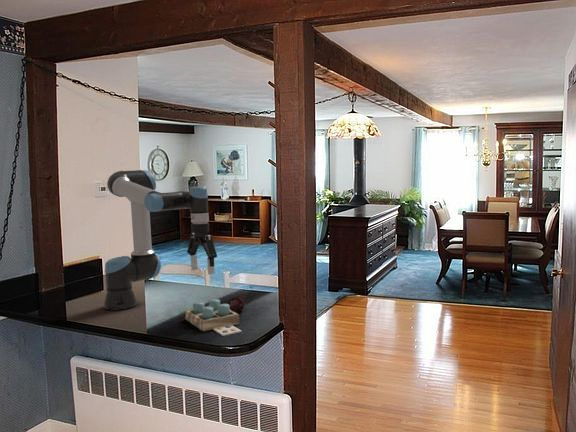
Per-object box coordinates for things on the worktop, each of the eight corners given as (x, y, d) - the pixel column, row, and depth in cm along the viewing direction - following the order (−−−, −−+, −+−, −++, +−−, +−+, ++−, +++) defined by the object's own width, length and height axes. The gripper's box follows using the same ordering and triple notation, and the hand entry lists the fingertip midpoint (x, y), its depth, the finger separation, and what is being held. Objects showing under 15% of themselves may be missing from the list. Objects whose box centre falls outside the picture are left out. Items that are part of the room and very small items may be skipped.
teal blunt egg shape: (207, 310, 224) (207, 300, 224) (217, 308, 227) (217, 298, 227) (211, 313, 220) (211, 302, 220) (222, 311, 223) (221, 300, 222)
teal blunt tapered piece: (216, 316, 216) (216, 305, 216) (226, 313, 219) (226, 303, 218) (221, 318, 212) (220, 307, 212) (231, 316, 215) (231, 305, 214)
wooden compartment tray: (185, 319, 222) (185, 310, 222) (219, 312, 231) (219, 304, 230) (203, 331, 205) (202, 321, 205) (239, 323, 214) (238, 314, 213)
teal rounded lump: (191, 313, 221) (191, 303, 220) (202, 311, 223) (201, 301, 223) (196, 316, 217) (195, 305, 216) (206, 314, 219) (206, 303, 219)
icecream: (238, 302, 223) (252, 297, 237) (223, 297, 225) (238, 292, 239) (234, 317, 224) (248, 311, 238) (220, 312, 226) (234, 306, 240)
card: (212, 329, 207) (212, 327, 207) (230, 325, 212) (230, 323, 211) (222, 336, 199) (222, 334, 199) (241, 332, 203) (241, 330, 203)
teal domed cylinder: (200, 319, 212) (199, 308, 212) (211, 317, 215) (210, 306, 215) (204, 321, 208) (204, 310, 208) (215, 319, 211) (215, 308, 210)
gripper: (177, 222, 226) (180, 269, 228) (208, 225, 208) (211, 277, 210) (192, 220, 231) (195, 267, 233) (223, 223, 212) (226, 274, 214)
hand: (202, 271), depth 221 cm, fingers open, 13 cm apart
